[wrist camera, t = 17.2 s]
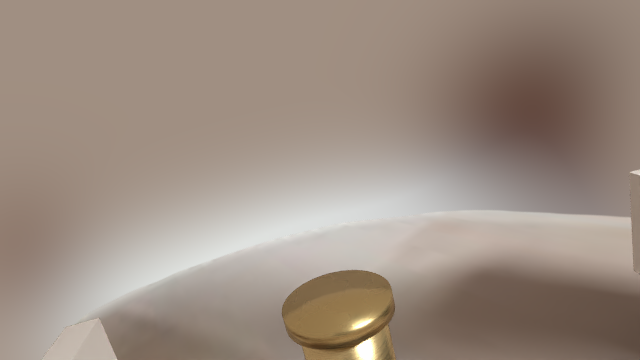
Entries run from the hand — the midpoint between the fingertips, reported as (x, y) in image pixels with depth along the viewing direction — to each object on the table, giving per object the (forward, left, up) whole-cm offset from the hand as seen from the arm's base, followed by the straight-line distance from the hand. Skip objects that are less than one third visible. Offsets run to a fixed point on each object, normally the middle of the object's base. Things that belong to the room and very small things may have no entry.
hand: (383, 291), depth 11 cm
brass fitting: (+1, -13, -22) cm, 25 cm away
